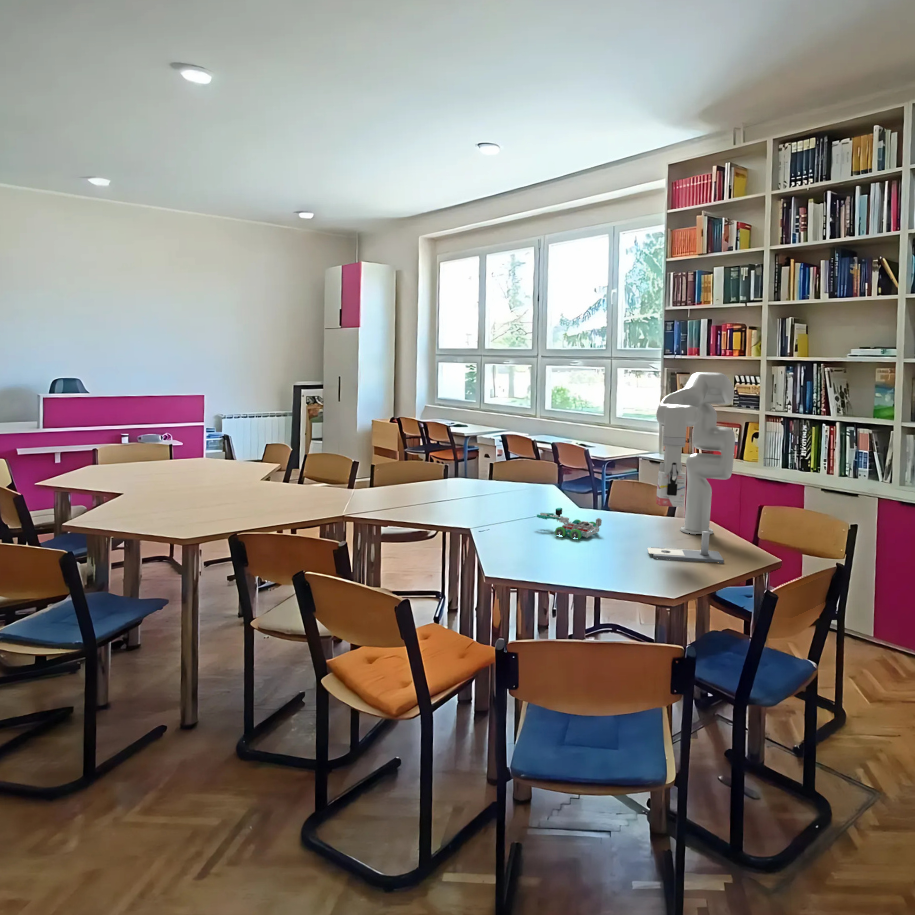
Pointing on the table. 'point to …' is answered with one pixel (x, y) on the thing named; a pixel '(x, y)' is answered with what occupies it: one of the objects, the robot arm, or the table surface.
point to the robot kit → (572, 525)
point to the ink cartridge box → (662, 484)
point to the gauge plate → (688, 552)
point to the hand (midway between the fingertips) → (670, 493)
